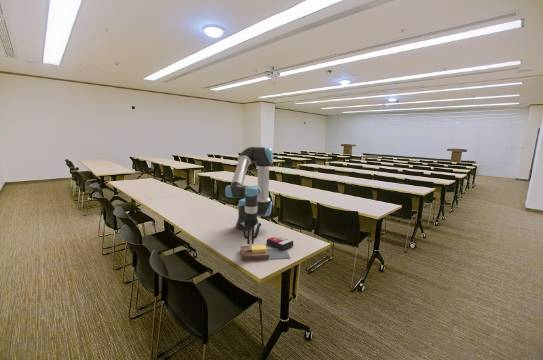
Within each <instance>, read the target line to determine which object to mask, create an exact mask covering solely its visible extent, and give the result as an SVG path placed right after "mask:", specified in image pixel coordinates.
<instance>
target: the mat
mask: <svg viewBox="0 0 543 360" xmlns="http://www.w3.org/2000/svg"><path fill="white" fill-rule="evenodd" d="M267 251H268V253H269V260H271V261H272V260H283V259H284V260H286V259H291V256H290V254H289V252H288V250H287V249H285V250H280V249H278V248H277V247H273V248H267Z"/></svg>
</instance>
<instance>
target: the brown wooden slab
mask: <svg viewBox="0 0 543 360" xmlns="http://www.w3.org/2000/svg"><path fill="white" fill-rule="evenodd" d="M240 256H241V262H250V261H251V262H252V261H255V262H256V261H269V260H270V259H269V253H268V251H267V252H260V253H252V251H251V250H249V245H241V246H240Z"/></svg>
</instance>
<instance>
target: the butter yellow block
mask: <svg viewBox="0 0 543 360" xmlns="http://www.w3.org/2000/svg"><path fill="white" fill-rule="evenodd" d="M267 249H268V248H267V246H266V244H256V245H254V244H252V250H251V251H252V253H260V252H267Z"/></svg>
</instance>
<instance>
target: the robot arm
mask: <svg viewBox="0 0 543 360" xmlns="http://www.w3.org/2000/svg"><path fill="white" fill-rule="evenodd" d="M251 163H253V164H254V163H255V166H256V167H257V185H249V186H245V185H244V182H245V179H246V175H247V171H248V168H249V166H250V165H251ZM273 163H274V152H273V149H272V148H271V147H266V146H248V147H247V148H245V149H243V150H242V151H241V152H240V153H239V155H238V157H237V165H236V168H235V172H234V175H233V177H232V180H231V184H230V185H226V187H225V189H224V193H225V196H226V197H227V198H234V199H235V198H238V199H240V200H238V205H237V206H238V207H237V208H238V210H237V211H238V212H237V213H238V215H237V216H238V217H237V221H236V223H235V228H236V229H238V230H241V231H242V234H243V237H244V239H245V240H246V241H247V242H246V243H247V245H248V246H249V250H252V246H253V245H254V241H255V239H257V238H258V234H259V231H260V227H261V226H262V223H261V222H260V221H258V216H259V217H260V216H261V217H269V216H270V215H271V212H272V208H273V201H271V198H270V197H269V195H270V193H269V190H270V189H269V188H270V187H269V186H270V185H269V184H270V168H271V166H272V164H273ZM243 185H244V186H243ZM255 228H256V229H255ZM246 231H247V234H246ZM250 233H251V234H250ZM250 235H251V237H250Z"/></svg>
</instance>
